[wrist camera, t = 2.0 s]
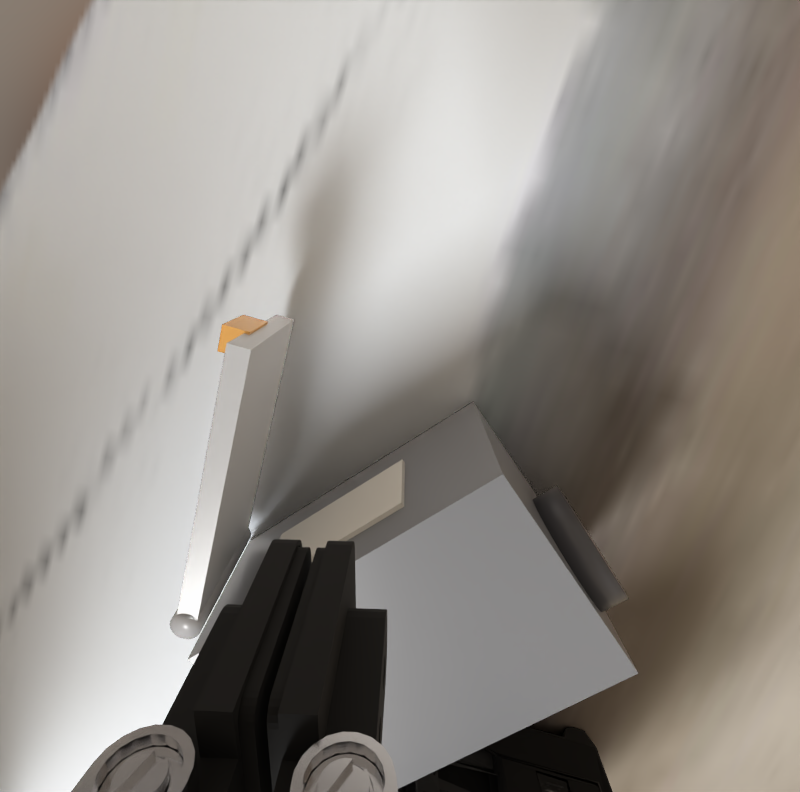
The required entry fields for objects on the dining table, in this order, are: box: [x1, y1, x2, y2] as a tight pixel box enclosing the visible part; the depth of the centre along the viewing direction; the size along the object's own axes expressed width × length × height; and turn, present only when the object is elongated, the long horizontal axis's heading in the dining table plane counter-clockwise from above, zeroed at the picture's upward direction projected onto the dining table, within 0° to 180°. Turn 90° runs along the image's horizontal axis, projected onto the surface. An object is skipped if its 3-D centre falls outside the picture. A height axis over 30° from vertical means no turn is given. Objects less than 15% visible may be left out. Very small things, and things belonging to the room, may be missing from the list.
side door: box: [170, 315, 294, 639], centre depth 21 cm, size 12×2×6 cm, turn 164°
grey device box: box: [188, 401, 638, 789], centre depth 23 cm, size 15×10×8 cm
